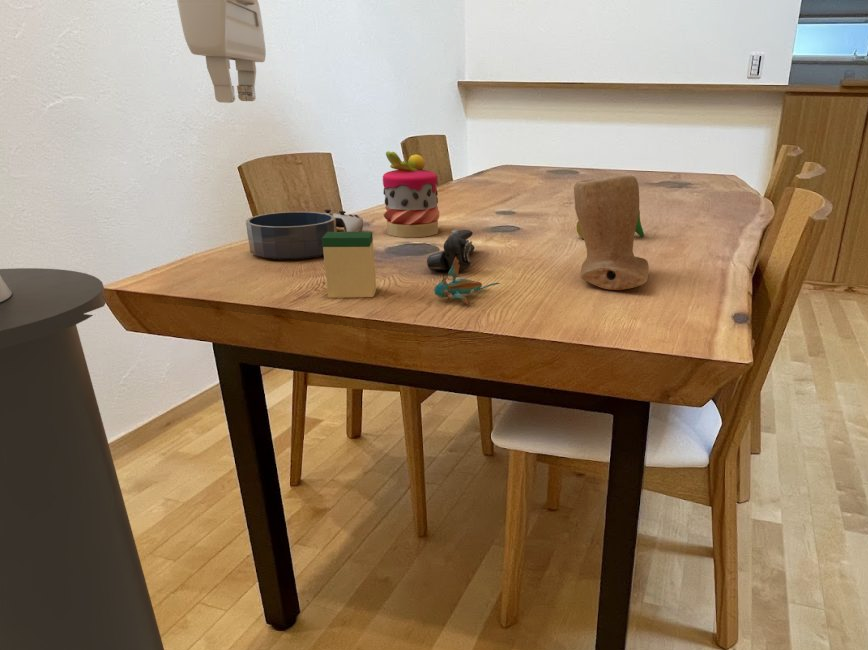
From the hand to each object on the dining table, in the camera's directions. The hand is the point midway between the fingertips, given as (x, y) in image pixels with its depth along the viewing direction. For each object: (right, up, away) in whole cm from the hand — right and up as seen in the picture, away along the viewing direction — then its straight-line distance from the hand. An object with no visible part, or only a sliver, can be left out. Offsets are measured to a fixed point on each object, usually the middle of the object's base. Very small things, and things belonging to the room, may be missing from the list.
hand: (237, 101), depth 79 cm
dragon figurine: (+27, -22, +10) cm, 36 cm away
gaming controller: (0, -5, +47) cm, 47 cm away
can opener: (+24, -14, +28) cm, 40 cm away
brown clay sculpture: (+48, -18, +19) cm, 55 cm away
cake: (+14, -5, +49) cm, 51 cm away
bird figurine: (+53, -5, +49) cm, 72 cm away
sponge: (+11, -22, +11) cm, 27 cm away
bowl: (-4, -11, +33) cm, 35 cm away
